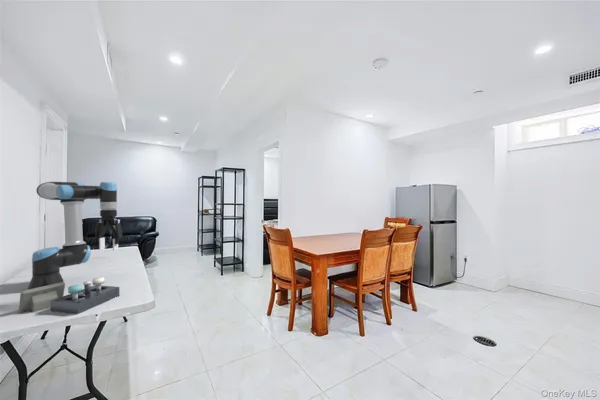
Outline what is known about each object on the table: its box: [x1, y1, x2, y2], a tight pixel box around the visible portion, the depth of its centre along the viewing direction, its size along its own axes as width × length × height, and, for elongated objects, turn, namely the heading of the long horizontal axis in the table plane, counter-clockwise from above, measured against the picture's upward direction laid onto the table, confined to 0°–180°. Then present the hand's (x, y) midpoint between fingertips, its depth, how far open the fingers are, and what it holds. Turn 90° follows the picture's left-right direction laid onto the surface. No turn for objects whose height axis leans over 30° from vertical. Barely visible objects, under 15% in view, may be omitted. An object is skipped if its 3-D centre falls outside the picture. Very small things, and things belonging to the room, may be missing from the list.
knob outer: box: [67, 284, 83, 301], centre depth 124 cm, size 5×5×7 cm
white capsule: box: [83, 280, 92, 294], centre depth 130 cm, size 3×3×6 cm
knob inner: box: [92, 276, 105, 292], centre depth 136 cm, size 5×5×7 cm
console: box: [50, 285, 120, 315], centre depth 130 cm, size 16×22×5 cm
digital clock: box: [18, 282, 66, 313], centre depth 125 cm, size 16×9×11 cm, turn 140°
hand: (108, 249), depth 142 cm, fingers open, 8 cm apart
